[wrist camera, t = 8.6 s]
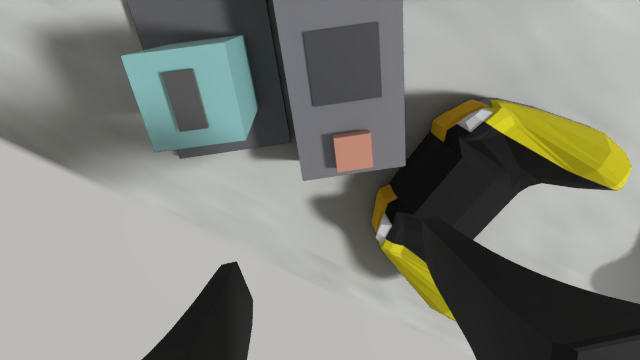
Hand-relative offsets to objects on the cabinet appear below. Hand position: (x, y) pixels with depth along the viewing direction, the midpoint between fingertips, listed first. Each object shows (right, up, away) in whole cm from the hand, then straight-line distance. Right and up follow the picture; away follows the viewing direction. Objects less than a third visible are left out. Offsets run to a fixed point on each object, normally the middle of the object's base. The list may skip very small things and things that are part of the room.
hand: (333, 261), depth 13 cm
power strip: (0, +12, +6) cm, 13 cm away
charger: (-6, +9, +6) cm, 13 cm away
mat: (-6, +9, +7) cm, 13 cm away
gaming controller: (+9, +3, +11) cm, 15 cm away
